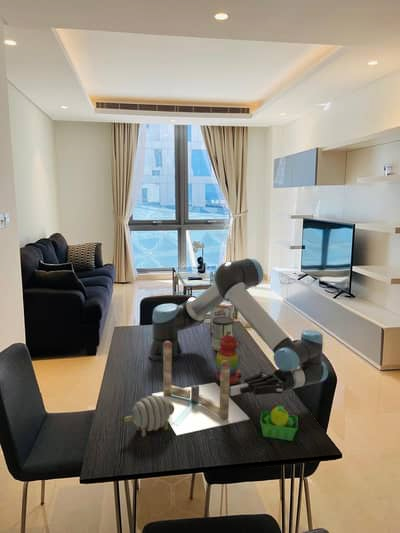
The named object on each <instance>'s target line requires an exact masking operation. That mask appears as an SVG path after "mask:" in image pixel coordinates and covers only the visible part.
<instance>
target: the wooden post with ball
mask: <svg viewBox="0 0 400 533" xmlns="http://www.w3.org/2000/svg"><path fill="white" fill-rule="evenodd" d="M172 362H173V361H172V343H171V342H170V341H165V342H164V343H163V362H162V363H163V370H162V371H163V372H162V379H163V382H162V384H163V385H162V388H163V390H162V392H163V395H164V396H170V395H175V396H179V397H183V398H187V399H189V398H190V390H189V389H185V388H186V387H180V386H176V385H172ZM198 385H199V384H194V385H191V386H190V387H191V402H192V403H198V395H199V386H198Z"/></svg>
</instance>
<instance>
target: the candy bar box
mask: <svg viewBox="0 0 400 533" xmlns="http://www.w3.org/2000/svg"><path fill="white" fill-rule="evenodd" d="M215 317H229V318H232V319H233V320H234V306H233V305H232V303H226V302H222V303H221V304H219V305H218V306H216V307H215V308H214V309H212V310H211V311H210V328H209V329H210V330H209V331H210V333H211V334H212V330H213V321H212V319H213V318H215Z"/></svg>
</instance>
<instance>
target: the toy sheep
mask: <svg viewBox="0 0 400 533" xmlns="http://www.w3.org/2000/svg"><path fill="white" fill-rule="evenodd" d="M173 412H174V406H173V404H172V403H171V402H169V401H167V400H166V399H165V398H164V397H163V396H156V395H154V396H152V395H148V396H146V397H143V398H141V399H140V400H139V401H136V402H135V403H134V406H133V407H132V410H131V415H128V416H125V417H124V418H123V420H124V422H125V423H128V422H131V421H132V422H133V423H134V424H135V426H136V430H137V431H140V430H141V437H143V438H145V437H146V434H147V432H151V431H158V430H159V428H163V429H164V430H165V431H168V429H169V422H168V419H169V417H170V415H171V414H173ZM146 431H147V432H146Z"/></svg>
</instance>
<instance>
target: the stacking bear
mask: <svg viewBox="0 0 400 533" xmlns="http://www.w3.org/2000/svg"><path fill="white" fill-rule="evenodd" d="M238 346H239V342H238V341H237V340H236V338H234V336H233V337H232V336H228V334H226V336H224V337H222V338H221V340H220V347H221V349H220V350H219V351H217V354H216V357H215V368H216V374H215V378H216V380H218V381H220V380H221V367H220V364H221V362H222V361H224V360H227V361H229V362H230V364H231V367H230V384H233V385H234V384H238V383H239V382H240V379H239V377H241V375H242V374H241V371H240V370H239V361H240V360H239V356H238V351H237V348H238Z"/></svg>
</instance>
